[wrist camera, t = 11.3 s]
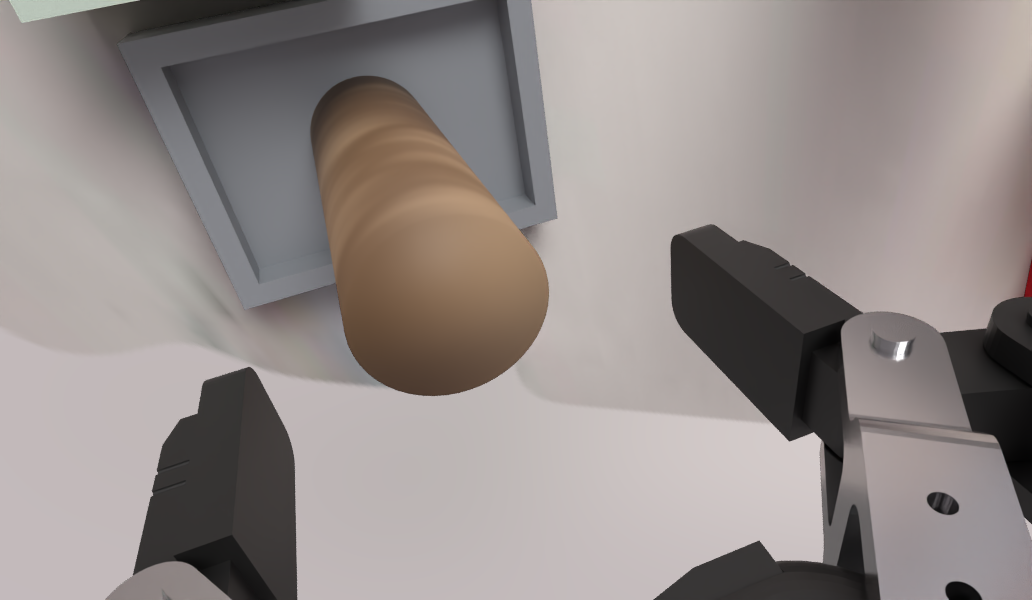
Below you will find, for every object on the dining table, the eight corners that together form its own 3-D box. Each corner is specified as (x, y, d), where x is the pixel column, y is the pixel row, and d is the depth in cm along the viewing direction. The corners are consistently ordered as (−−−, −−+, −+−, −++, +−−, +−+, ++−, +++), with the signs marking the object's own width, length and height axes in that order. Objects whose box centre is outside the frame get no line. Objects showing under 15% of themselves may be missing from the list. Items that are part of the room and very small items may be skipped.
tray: (506, -44, 21) (526, -40, 19) (539, 199, 26) (557, 218, 24) (130, 33, 19) (116, 43, 17) (246, 283, 24) (244, 309, 22)
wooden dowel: (412, 63, 21) (534, 189, 11) (438, 174, 23) (558, 359, 13) (293, 91, 20) (312, 251, 10) (331, 202, 22) (377, 420, 13)
